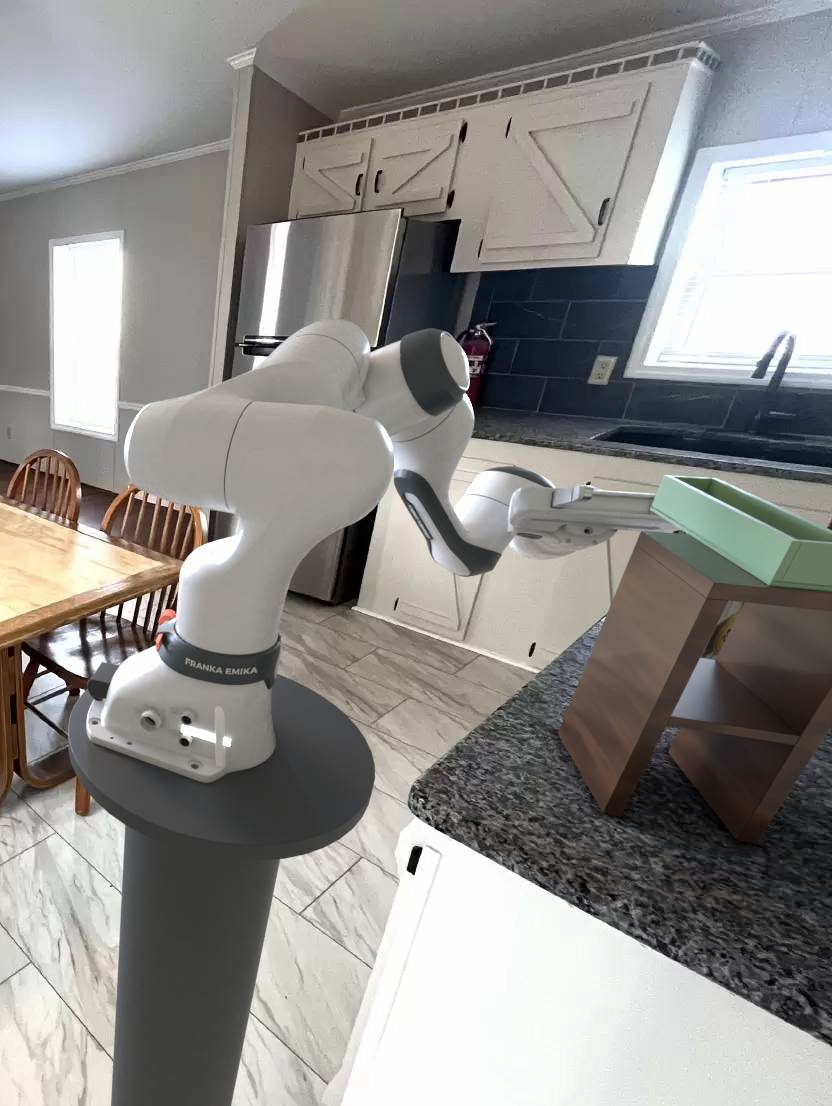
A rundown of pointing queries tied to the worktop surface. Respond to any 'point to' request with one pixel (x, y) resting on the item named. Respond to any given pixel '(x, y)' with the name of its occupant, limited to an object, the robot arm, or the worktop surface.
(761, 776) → the shelf stand
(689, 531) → the storage tray
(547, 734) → the worktop surface
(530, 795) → the worktop surface
